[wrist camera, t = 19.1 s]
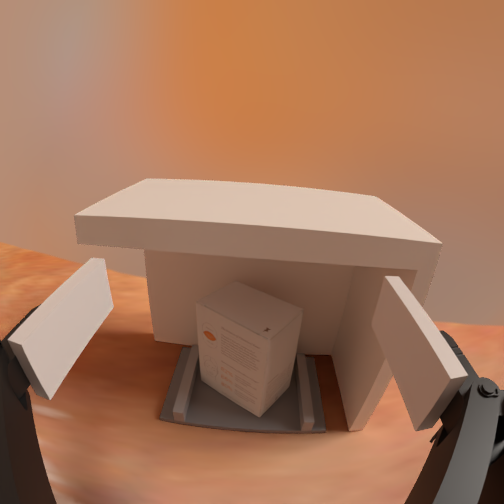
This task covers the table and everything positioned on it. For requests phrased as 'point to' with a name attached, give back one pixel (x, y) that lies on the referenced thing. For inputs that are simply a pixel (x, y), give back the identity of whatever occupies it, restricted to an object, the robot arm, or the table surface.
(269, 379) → the small box
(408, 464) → the table surface
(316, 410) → the cabinet
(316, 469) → the table surface
